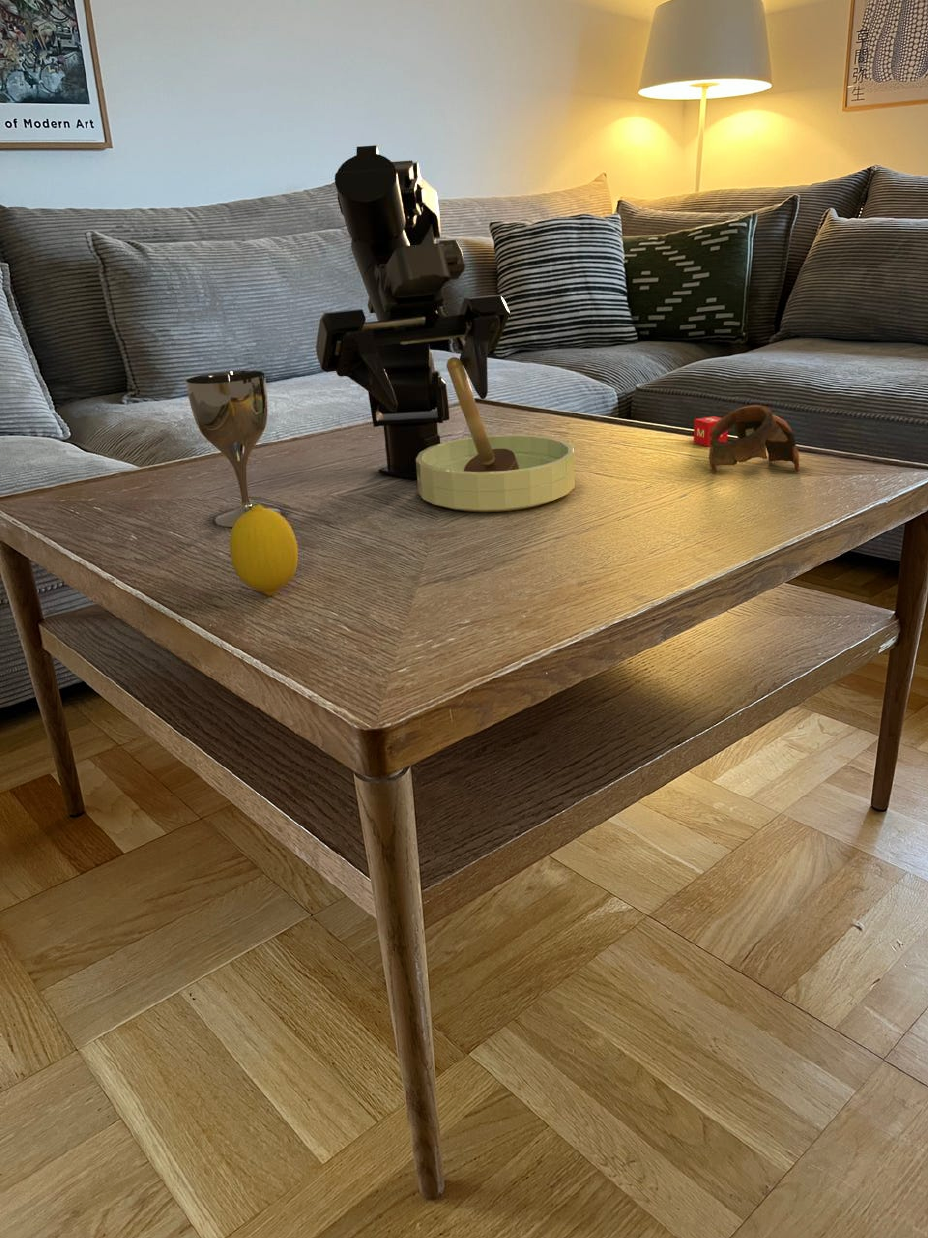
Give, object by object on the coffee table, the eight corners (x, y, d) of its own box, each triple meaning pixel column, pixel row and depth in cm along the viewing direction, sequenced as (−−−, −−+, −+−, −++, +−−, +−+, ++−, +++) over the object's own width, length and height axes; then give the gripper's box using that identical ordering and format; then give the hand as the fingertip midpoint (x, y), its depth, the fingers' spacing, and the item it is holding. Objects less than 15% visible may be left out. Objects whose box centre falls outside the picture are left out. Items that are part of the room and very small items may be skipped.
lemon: (243, 586, 80) (227, 498, 77) (306, 580, 81) (293, 493, 77) (233, 610, 75) (217, 518, 72) (301, 604, 76) (287, 512, 72)
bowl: (387, 500, 102) (383, 461, 100) (487, 465, 114) (485, 429, 112) (508, 525, 91) (506, 481, 90) (605, 483, 103) (605, 444, 101)
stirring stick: (460, 495, 101) (414, 376, 91) (481, 463, 104) (439, 345, 95) (508, 495, 98) (465, 372, 88) (528, 462, 101) (489, 340, 92)
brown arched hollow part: (815, 482, 100) (789, 423, 96) (732, 518, 103) (704, 462, 99) (790, 431, 109) (766, 374, 105) (715, 465, 113) (689, 412, 108)
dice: (693, 442, 118) (694, 418, 117) (713, 439, 119) (714, 415, 118) (707, 446, 115) (708, 423, 114) (727, 443, 116) (728, 419, 115)
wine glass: (297, 507, 102) (278, 370, 96) (261, 529, 95) (237, 383, 89) (236, 504, 104) (214, 370, 98) (196, 526, 98) (169, 384, 92)
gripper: (307, 217, 81) (358, 358, 76) (497, 205, 87) (555, 334, 83) (298, 305, 91) (342, 435, 86) (468, 289, 97) (519, 409, 92)
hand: (440, 402), depth 86 cm, fingers open, 9 cm apart
